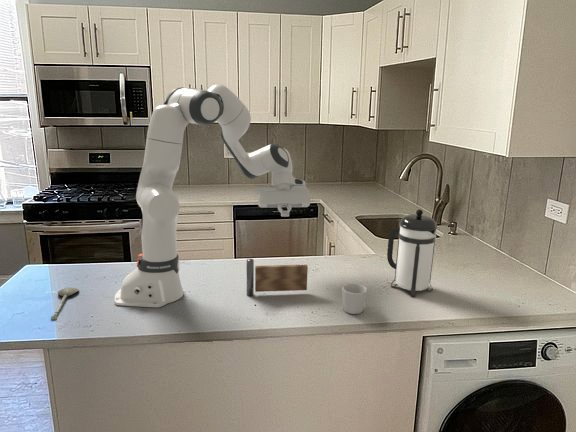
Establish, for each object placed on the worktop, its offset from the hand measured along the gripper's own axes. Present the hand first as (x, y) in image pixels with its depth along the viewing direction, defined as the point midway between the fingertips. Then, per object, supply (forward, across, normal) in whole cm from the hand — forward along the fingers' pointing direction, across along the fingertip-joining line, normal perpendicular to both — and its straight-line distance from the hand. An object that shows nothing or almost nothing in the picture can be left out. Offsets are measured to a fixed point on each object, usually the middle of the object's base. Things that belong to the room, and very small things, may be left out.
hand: (285, 215), depth 166 cm
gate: (+29, -3, +1) cm, 29 cm away
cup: (+39, +20, -6) cm, 45 cm away
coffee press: (+29, +44, +4) cm, 53 cm away
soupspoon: (+32, -75, +2) cm, 82 cm away
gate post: (+30, -14, +2) cm, 33 cm away
